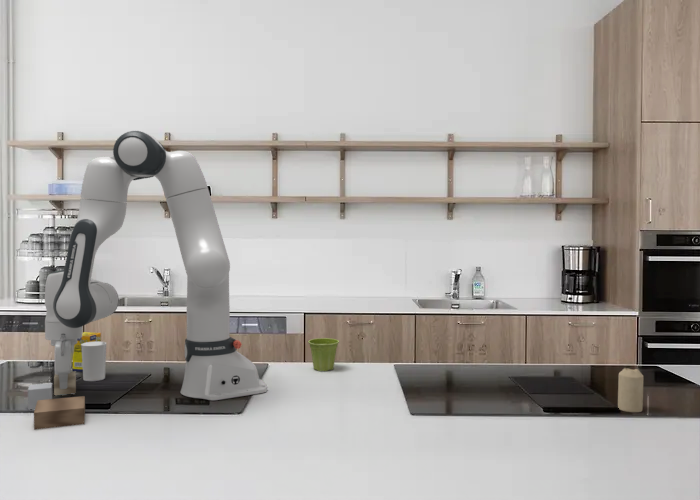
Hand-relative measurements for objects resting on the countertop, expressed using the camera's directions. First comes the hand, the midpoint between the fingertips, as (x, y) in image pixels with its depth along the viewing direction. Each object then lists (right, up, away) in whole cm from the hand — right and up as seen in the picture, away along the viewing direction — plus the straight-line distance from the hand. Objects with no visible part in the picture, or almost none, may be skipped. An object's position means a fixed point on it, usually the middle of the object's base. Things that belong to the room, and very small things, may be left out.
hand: (64, 383), depth 163 cm
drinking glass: (+2, -2, +15) cm, 15 cm away
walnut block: (+9, -4, -22) cm, 24 cm away
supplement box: (-5, -1, +25) cm, 26 cm away
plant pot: (+66, -2, +28) cm, 72 cm away
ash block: (0, -3, 0) cm, 3 cm away
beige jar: (+143, -4, -11) cm, 143 cm away
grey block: (0, -3, -12) cm, 12 cm away
